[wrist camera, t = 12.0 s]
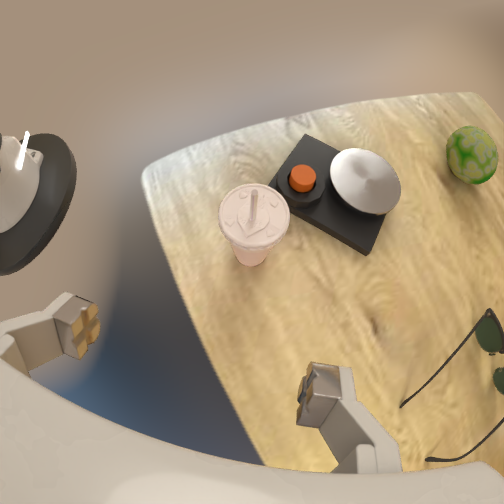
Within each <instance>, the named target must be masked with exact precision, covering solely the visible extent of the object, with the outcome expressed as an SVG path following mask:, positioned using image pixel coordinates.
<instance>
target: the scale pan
mask: <svg viewBox="0 0 504 504" xmlns="http://www.w3.org/2000/svg"><path fill="white" fill-rule="evenodd" d="M329 178H330V183H331V186H332V188H333V190H334V191H335V193H336V195H337V196H338V197H339V198H340V199H341V200H342V201H343V202H344V203H345V204H346V205H347V206H349V207H350V208H352V209H353V210H355V211H357V212H360V213H363V214H366V215H382V214H385V213H387V212H389V211H391V210H392V209H393V208H394V207H395V206H396V204H397V203H398V201H399V199H400V195H401V186H400V181H399V178H398V176H397V174H396V172H395V171H394V169H393V168H392V167H391V165H390V164H389V163H388V162H387V161H386V160H384V159H383V158H382V157H380V156H379V155H377V154H375V153H373V152H371V151H368V150H365V149H358V148H352V149H347V150H344V151H342V152H340V153H338V154H337V155H336V156H335V157H334V159H333V160H332V163H331V165H330V168H329Z"/></svg>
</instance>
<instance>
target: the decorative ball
mask: <svg viewBox="0 0 504 504" xmlns="http://www.w3.org/2000/svg"><path fill="white" fill-rule="evenodd" d="M446 153H447V162H448V165H449V167H450V168H451V170H452V172H453V173H454V175H455V176H456V177H458V178H459V179H461V180H462V181H463V182H465V183H468V184H481V183H484V182H485V181H487V180H489V179H490V178H491V177H492V176H493V174H494V173H495V171H496V168H497V165H498V152H497V148H496V145H495V143H494V141H493V140H492V138H491V137H490V136H489V135H488V134H487V133H486V132H485V131H484V130H482V129H480V128H478V127H475V126H466V127H462V128H460V129H458V130H456V131H455V132H454V133H453V134H452V135H451V136H450V137H449V139H448V141H447V145H446Z"/></svg>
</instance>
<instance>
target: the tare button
mask: <svg viewBox="0 0 504 504" xmlns="http://www.w3.org/2000/svg"><path fill="white" fill-rule="evenodd" d="M315 179H316V174H315V171H314V170H313V169H312V168H311V167H309V166H307V165H297V166H295V167H294V168H293V169H292V171H291V174H290V178H289V184H290V186H291V187H292V189H294V190H295V191H297V192H300V193H305V192H308V191H310V190H311V189H312V187H313V185H314V182H315Z"/></svg>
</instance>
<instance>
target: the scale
mask: <svg viewBox="0 0 504 504" xmlns="http://www.w3.org/2000/svg"><path fill="white" fill-rule="evenodd" d="M338 153H340V151H338V150H336V149H334V148H333V147H331V146H329V145H327V144H325V143H323V142H321V141H319V140H317V139H315V138H313V137H311V136H309V135H307V134H304V136H303V137H302V139H301V140H300V141H299V143H298V144H297V145H296V147H295V148H294V150H293V151H292V152H291V154H290V155H289V157H288V158H287V159H286V161H285V162H284V164H283V165H282V166H281V168H280V169H279V171H278V172H277V173H276V175H275V176H274V178H273V179H272V180H271V182H270V183H269V185H268V186H269V187H271V188H273V189H274V190H276V191H277V192H278V193H280V194H281V195H282V197H283V198H284V199H285V201H286V203H287V205H288V207H289V212H291V213H293V214H294V215H296V216H298V217H300V218H302V219H303V220H305V221H307V222H309V223H310V224H312V225H314V226H316V227H317V228H319V229H321V230H323V231H324V232H326V233H328V234H330V235H331V236H333V237H335V238H337V239H338V240H340V241H342V242H343V243H345V244H347V245H348V246H350V247H352V248H353V249H355V250H357V251H358V252H360V253H362V254H363V255H365V256H367V255H368V254H369V253H370V252H371V249H372V247H373V245H374V242H375V240H376V238H377V235H378V233H379V230H380V228H381V225H382V223H383V220H384V218H385V215H386V213H385V214H382V215H366V214H363V213H360V212H357V211H355V210H353V209H352V208H350V207H349V206H347V205H346V204H345V203H344V202H343V201H342V200H341V199H340V198H339V197H338V196H337V195H336V193H335V191H334V190H333V188H332V186H331V183H330V178H329V168H330V165H331V163H332V160H333V159H334V157H335V156H336V155H337V154H338ZM297 165H307V166H309V167H311V168H312V169H313V170H314V171H315V174H316V179H315V182H314V185H313V187H312V189H311V190H310V191H308V192H305V193H300V192H297V191H295V190H294V189H292V187H291V186H290V184H289V178H290V174H291V171H292V169H293V168H294V167H295V166H297Z"/></svg>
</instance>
